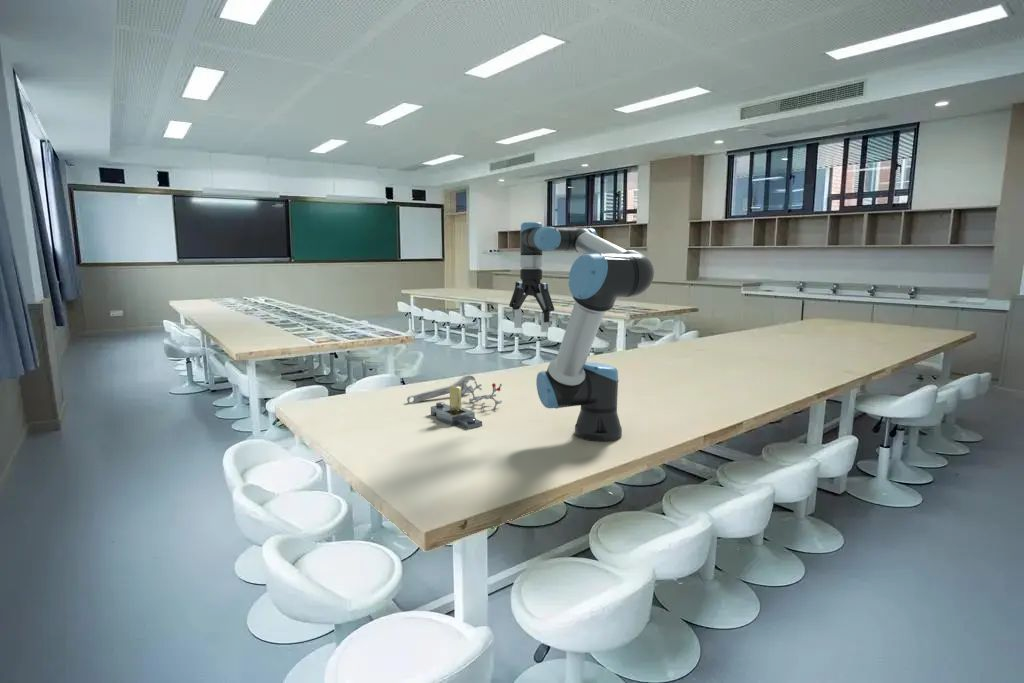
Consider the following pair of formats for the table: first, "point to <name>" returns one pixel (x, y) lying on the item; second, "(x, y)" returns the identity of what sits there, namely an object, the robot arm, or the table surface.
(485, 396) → the molecular model
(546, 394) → the robot arm
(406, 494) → the table surface
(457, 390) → the pin
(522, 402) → the table surface
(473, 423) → the link plate
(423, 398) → the wrench
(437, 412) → the link plate
